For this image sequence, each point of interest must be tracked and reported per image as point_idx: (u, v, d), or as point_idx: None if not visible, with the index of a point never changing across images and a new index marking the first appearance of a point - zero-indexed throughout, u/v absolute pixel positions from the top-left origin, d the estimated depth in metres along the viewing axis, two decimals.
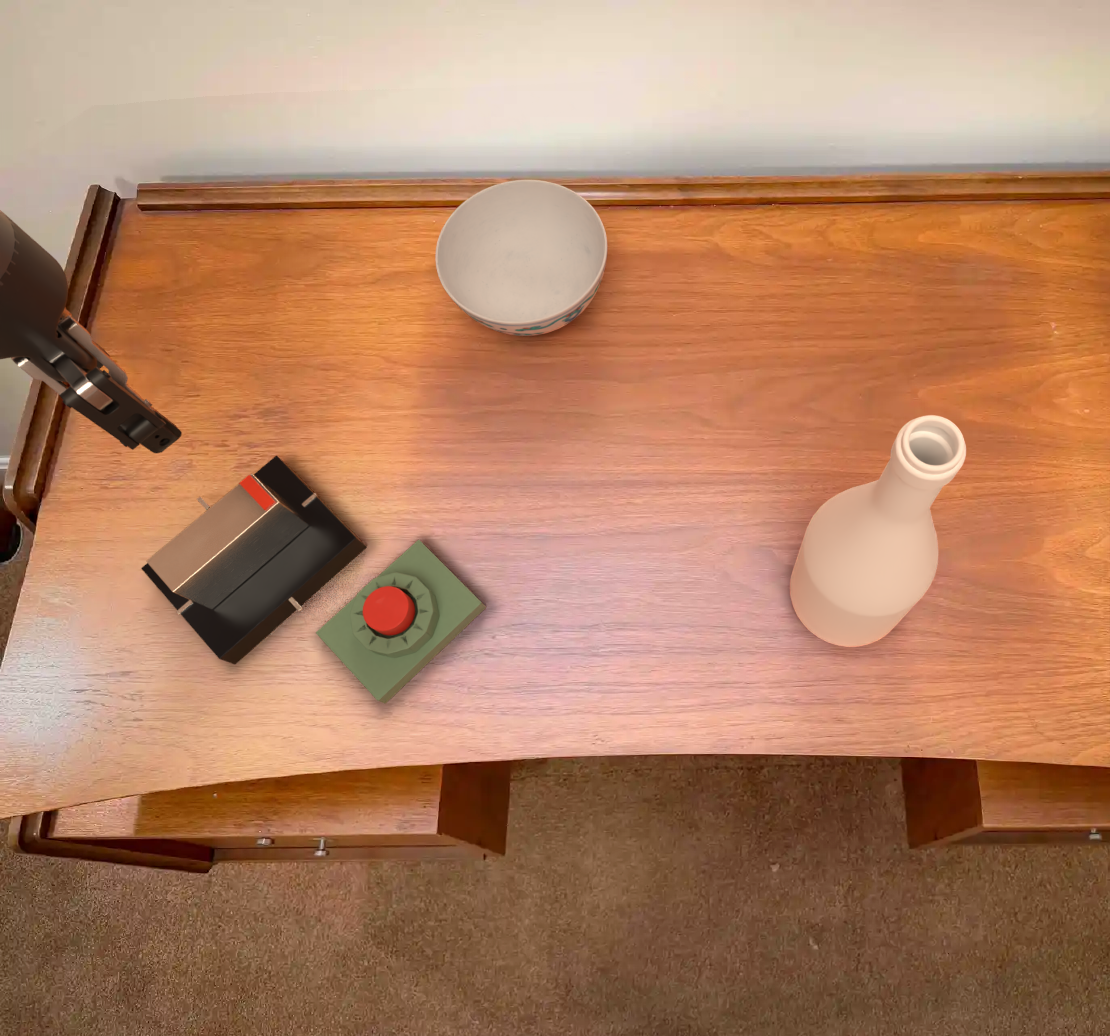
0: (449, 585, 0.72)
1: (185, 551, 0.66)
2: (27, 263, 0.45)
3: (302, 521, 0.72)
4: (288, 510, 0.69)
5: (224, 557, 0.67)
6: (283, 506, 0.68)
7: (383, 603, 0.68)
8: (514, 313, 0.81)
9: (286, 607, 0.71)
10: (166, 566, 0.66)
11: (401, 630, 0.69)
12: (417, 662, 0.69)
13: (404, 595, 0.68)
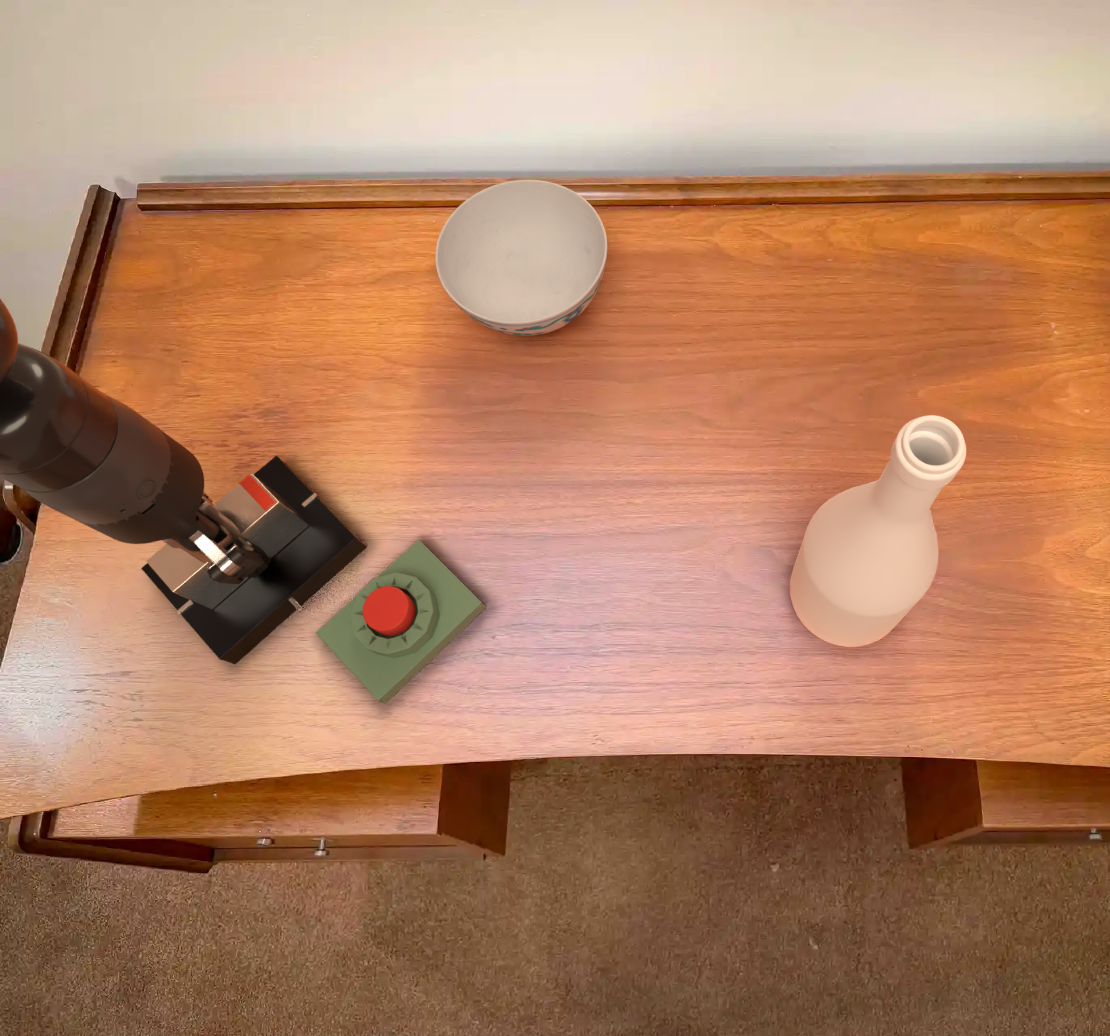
0: (449, 585, 0.72)
1: (185, 551, 0.66)
2: (178, 470, 0.56)
3: (302, 521, 0.72)
4: (288, 510, 0.69)
5: None
6: (283, 506, 0.68)
7: (383, 603, 0.68)
8: (514, 313, 0.81)
9: (286, 607, 0.71)
10: (166, 566, 0.66)
11: (401, 630, 0.69)
12: (417, 662, 0.69)
13: (404, 595, 0.68)
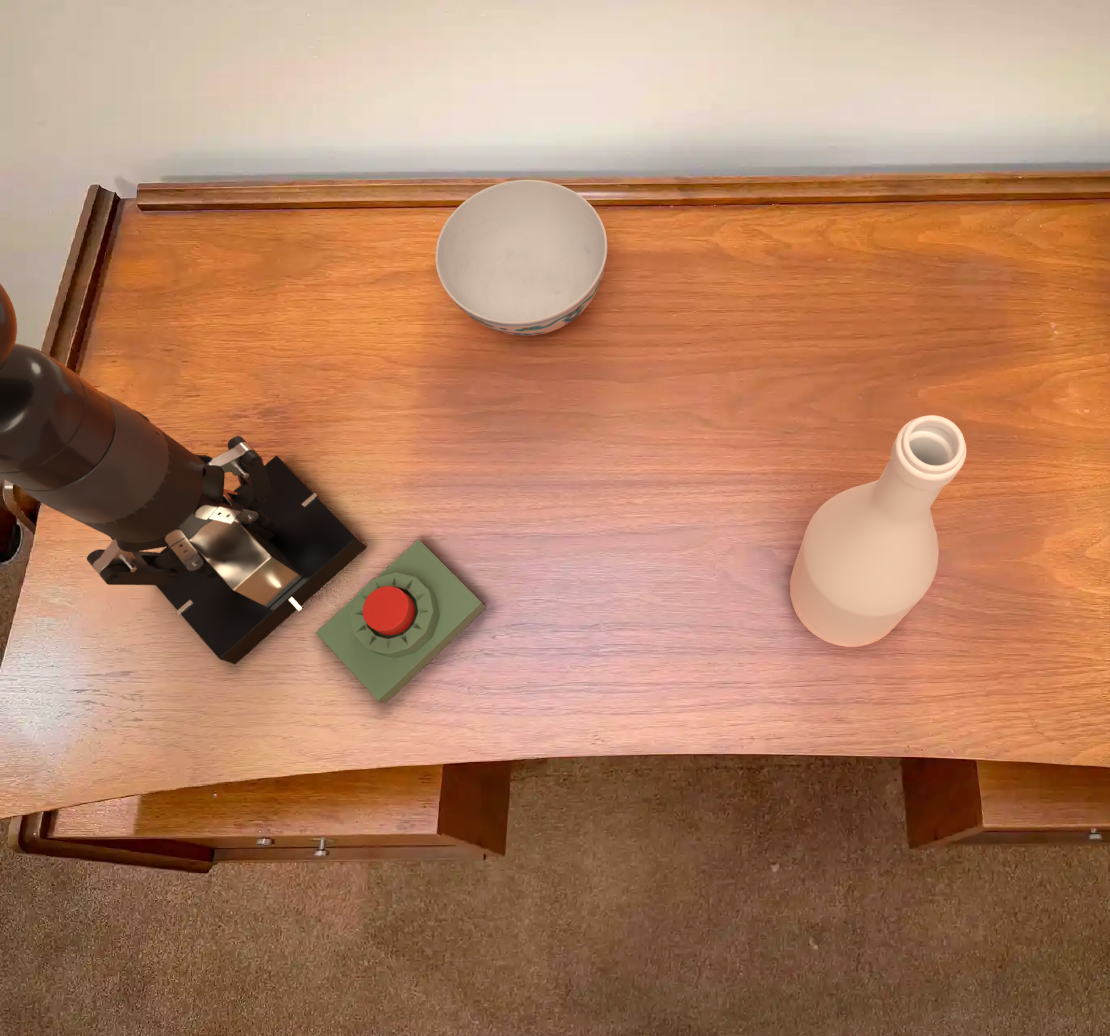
0: (449, 585, 0.72)
1: (230, 553, 0.66)
2: None
3: None
4: None
5: None
6: None
7: (383, 603, 0.68)
8: (514, 313, 0.81)
9: (286, 607, 0.71)
10: (242, 568, 0.66)
11: (401, 630, 0.69)
12: (417, 662, 0.69)
13: (404, 595, 0.68)
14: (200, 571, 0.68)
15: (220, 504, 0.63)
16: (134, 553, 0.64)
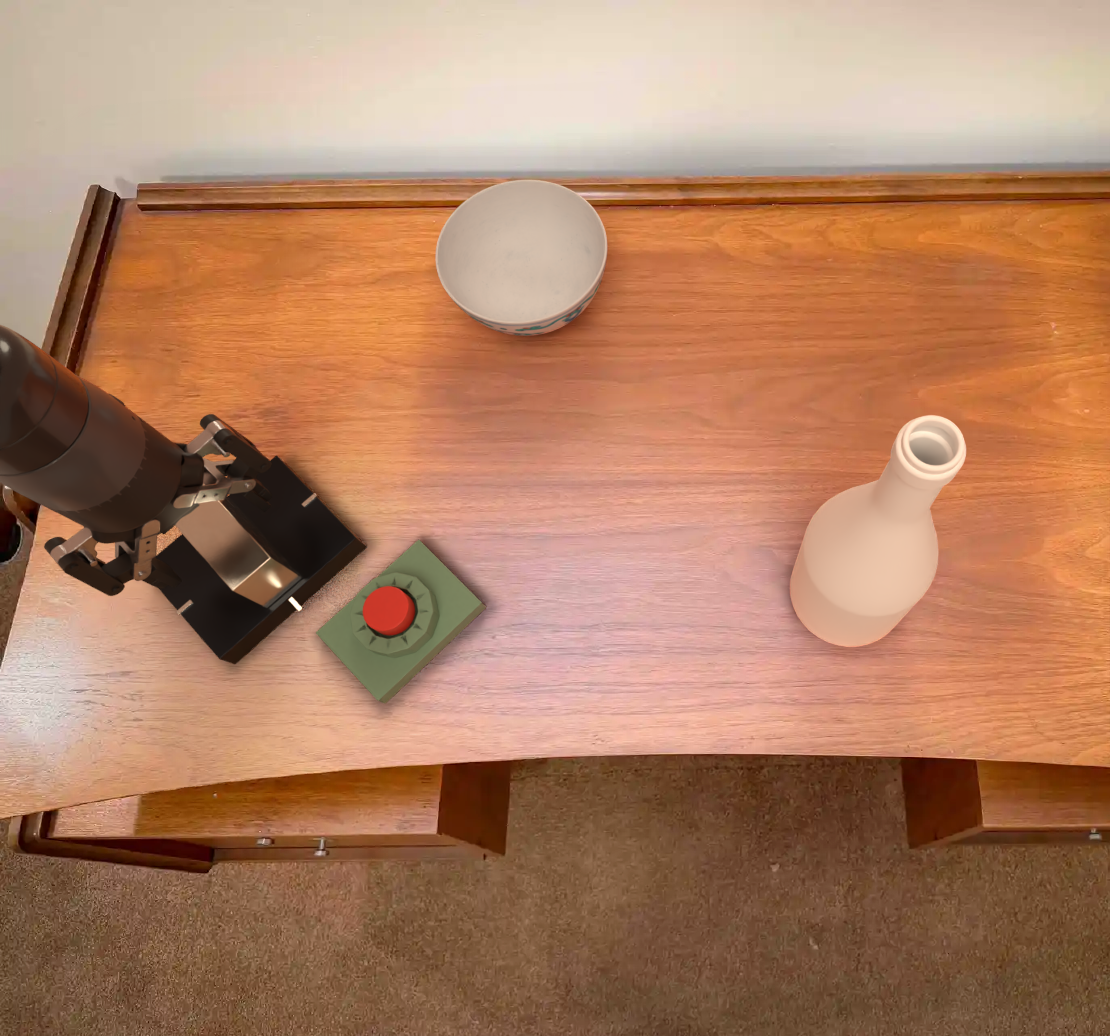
0: (449, 585, 0.72)
1: (229, 554, 0.66)
2: None
3: None
4: None
5: (244, 525, 0.68)
6: None
7: (383, 603, 0.68)
8: (514, 313, 0.81)
9: (286, 607, 0.71)
10: (241, 569, 0.66)
11: (401, 630, 0.69)
12: (417, 662, 0.69)
13: (404, 595, 0.68)
14: (148, 581, 0.64)
15: (201, 487, 0.61)
16: None
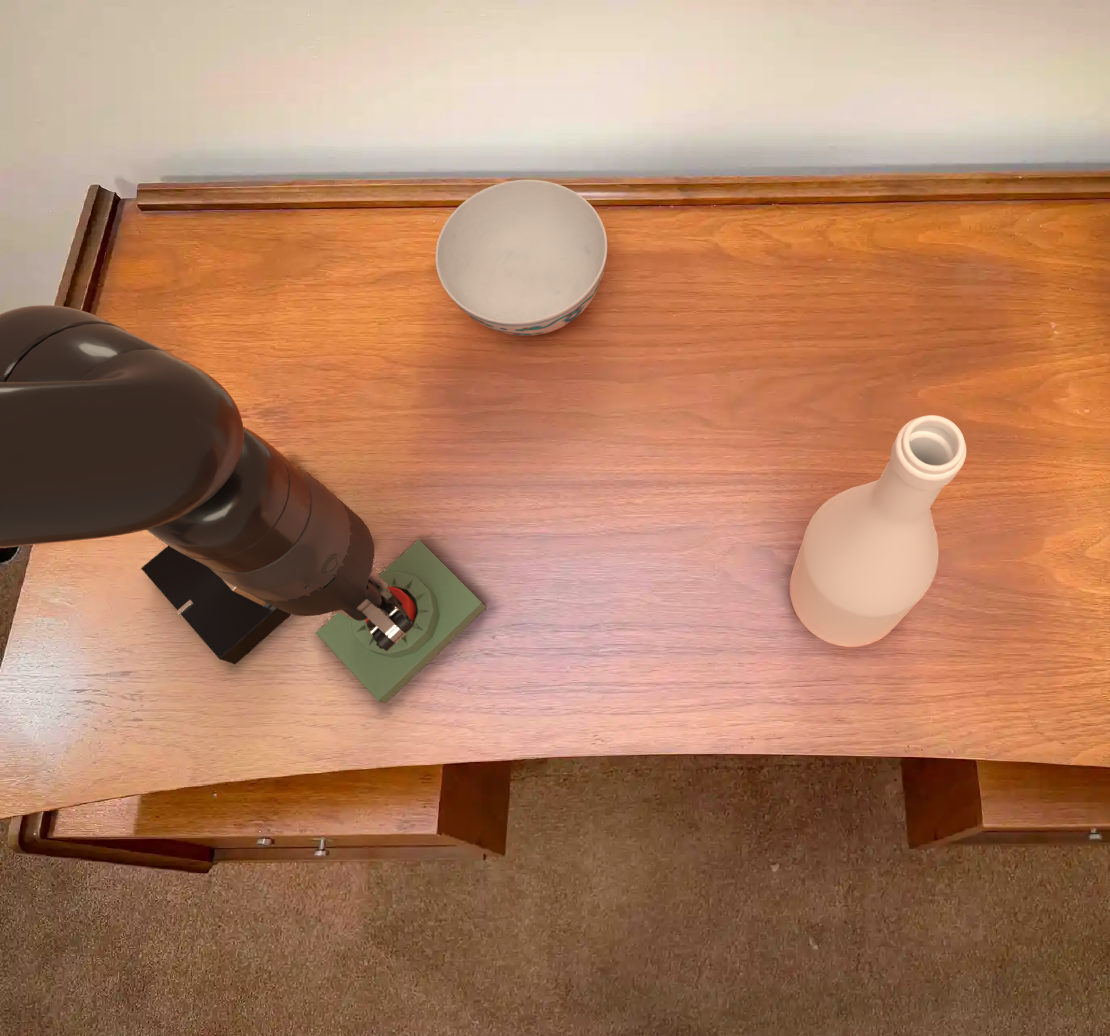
0: (449, 585, 0.72)
1: None
2: (356, 540, 0.53)
3: None
4: None
5: None
6: None
7: None
8: (514, 313, 0.81)
9: None
10: None
11: None
12: (417, 662, 0.69)
13: (405, 596, 0.68)
14: None
15: None
16: None
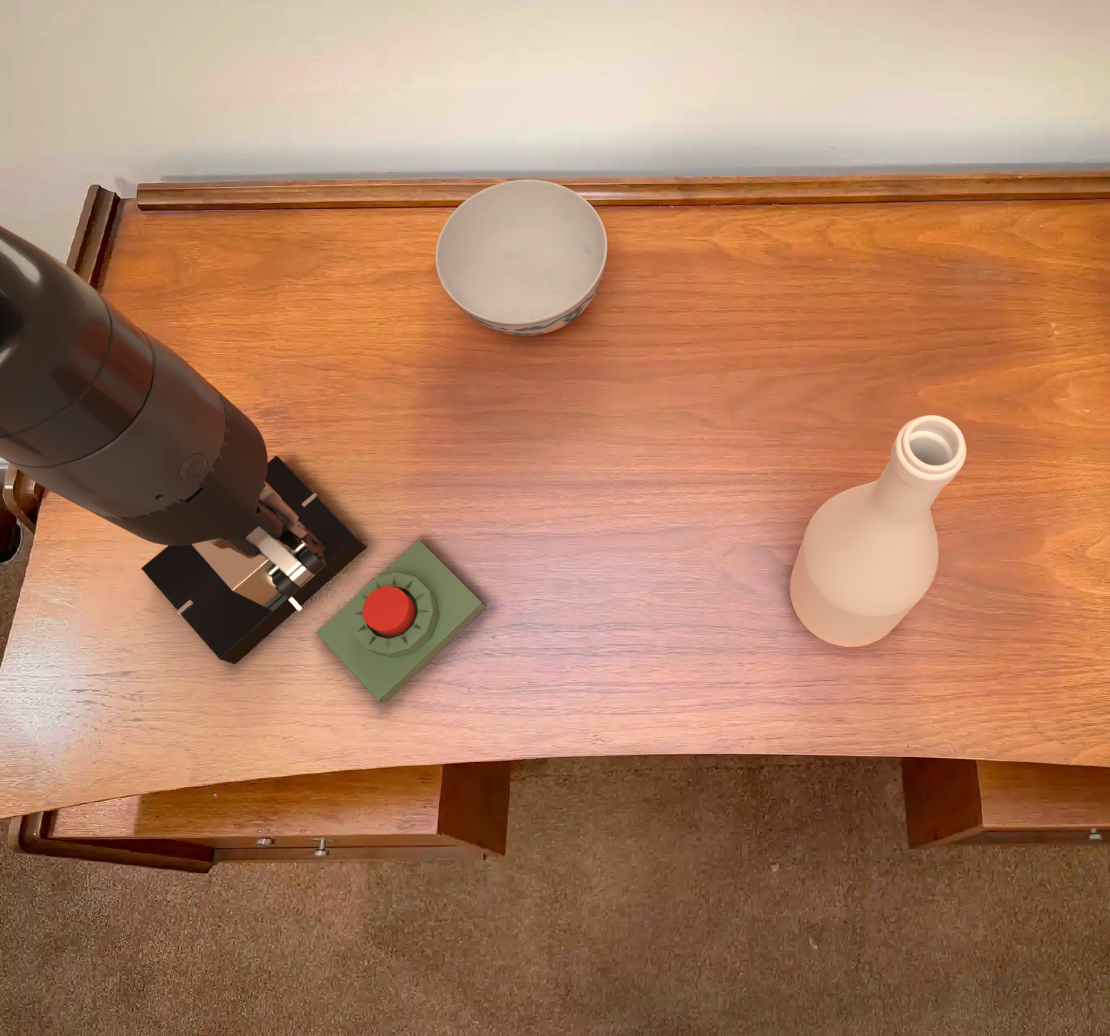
0: (449, 585, 0.72)
1: (229, 554, 0.66)
2: (236, 441, 0.39)
3: None
4: None
5: None
6: None
7: (383, 603, 0.68)
8: (514, 313, 0.81)
9: (286, 607, 0.71)
10: (241, 569, 0.66)
11: (401, 630, 0.69)
12: (417, 662, 0.69)
13: (404, 595, 0.68)
14: None
15: None
16: None
